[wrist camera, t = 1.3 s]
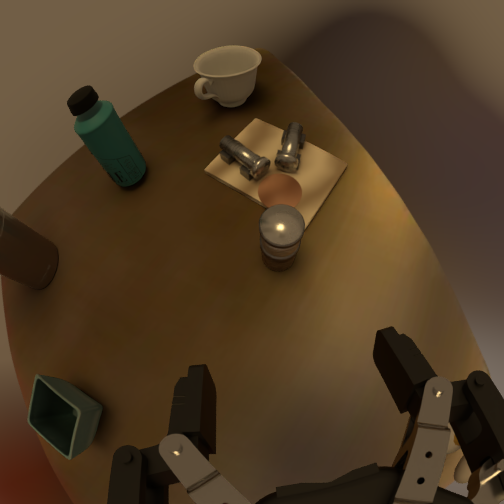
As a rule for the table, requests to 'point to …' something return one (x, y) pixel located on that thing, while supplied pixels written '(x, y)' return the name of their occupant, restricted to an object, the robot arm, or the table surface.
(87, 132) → the beverage bottle
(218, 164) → the base board
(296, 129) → the shaft
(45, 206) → the table surface
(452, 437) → the perfume bottle
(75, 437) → the flower pot
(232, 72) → the teacup
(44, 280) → the robot arm
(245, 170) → the shaft
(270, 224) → the disc
